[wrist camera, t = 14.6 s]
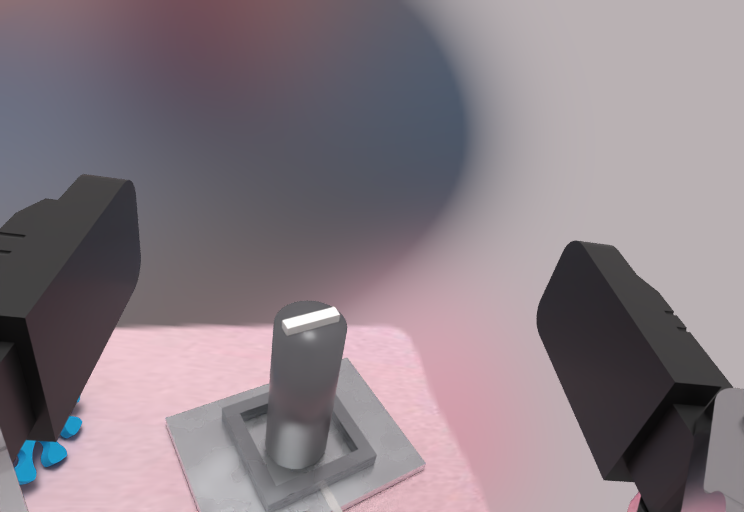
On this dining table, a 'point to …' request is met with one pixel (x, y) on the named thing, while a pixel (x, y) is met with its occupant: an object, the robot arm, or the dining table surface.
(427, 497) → the dining table surface
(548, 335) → the robot arm
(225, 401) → the grey peg base plate
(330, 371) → the grey peg
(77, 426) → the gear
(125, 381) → the dining table surface
